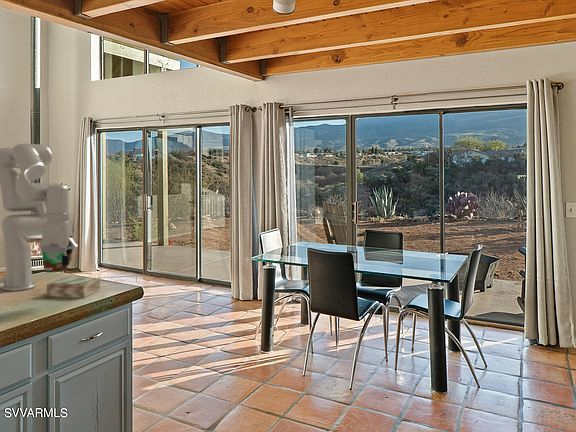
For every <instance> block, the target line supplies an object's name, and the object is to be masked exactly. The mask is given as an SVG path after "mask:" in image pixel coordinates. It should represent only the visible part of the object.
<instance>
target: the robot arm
mask: <svg viewBox="0 0 576 432" xmlns="http://www.w3.org/2000/svg"><path fill="white" fill-rule="evenodd" d="M52 160H53V152H52V150H51V149H50V148H49V146H47V145H45V144H38V143H37V144H36V143H20V144H16V145H14V146H13V147H0V193H1V194H0V195H1V200H2V206H3V209H4V210H5V211H7V212H9V213H10V212H11V213H14V212H15V213H21V212H30V213H31V214H30V213H27V214H25V213H23V214H12V215H8V216H4V218H3V219H2V221H1V231H2V236H3V240H4V253H5V254H4V256H5V258H4V259H5V277H0V283H1V284H2V283H3V286H1V287H2V290H3V291H7V292H8V291H9V292H17V291H18V292H19V291H26V290H30V289H34V288H35V287H36V286H37V283H36V282H35V281H33V280H32V279H33V274H32V249H31V245H30V243H29V242H28V241H27V239H25V237H34V236H41V241H40V242H39V244H38V247H39V248H40V249H41V248H42V246H57V245H59V247H60V248H61V249H65V250H63V253H64V256H63V257H62V258H63V266H64V267H65V266H67V267H68V266H69V265H70V262H71V261H70V260H71V258H70V256H71V254H72V253H73V252H74V251H76V250H77V248H78V247H79V246H78V244H76V242H75V241H74V237H73V236H74V233H73V227H72V222H71V221H69V220H70V219H69V217H70V215H69V213H70V212H69V188H68V186H67V185H65V184H60V183H56V182H55V183H54V182H34V181H36V180H37V181H38V180H40V179H41V178H42V177H43V176H44V175H45V173H46V171H47V169H46V166H48V165H50V164H51V162H52ZM15 169H19V170H20V171H21V172H20V173H18V172H17V171H16V170H15ZM31 182H33V183H31ZM69 247H70V248H69ZM67 248H68V250H66V249H67Z"/></svg>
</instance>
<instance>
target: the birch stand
mask: <svg viewBox="0 0 576 432" xmlns="http://www.w3.org/2000/svg"><path fill="white" fill-rule="evenodd" d="M100 280H101V279H100V278H95V277H71V276H66V277H63V278H62V277H61V278H59V279H57V280H54V281H52V282H49V283H47V284H46V297H56V298H57V297H58V298H59V297H60V298H79V299H80V298H81V299H85V298H87V297H89V296H91V295H93V294H94V295H95V293H98V292H100V290H101V287H100V284H101V283H100Z"/></svg>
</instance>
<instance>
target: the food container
mask: <svg viewBox="0 0 576 432" xmlns="http://www.w3.org/2000/svg"><path fill="white" fill-rule="evenodd" d="M69 248H71V247H69ZM63 250H65V249H61V248H60V247H59V245H57V246H42V248H41V247H40V252H41V253H42V264H43V272H44V273H58V272H64V271H66V270H68V266H65V267H64V266H63V258H62V257H63V256H64V253H63ZM66 250H68V248H67V249H66Z"/></svg>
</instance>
